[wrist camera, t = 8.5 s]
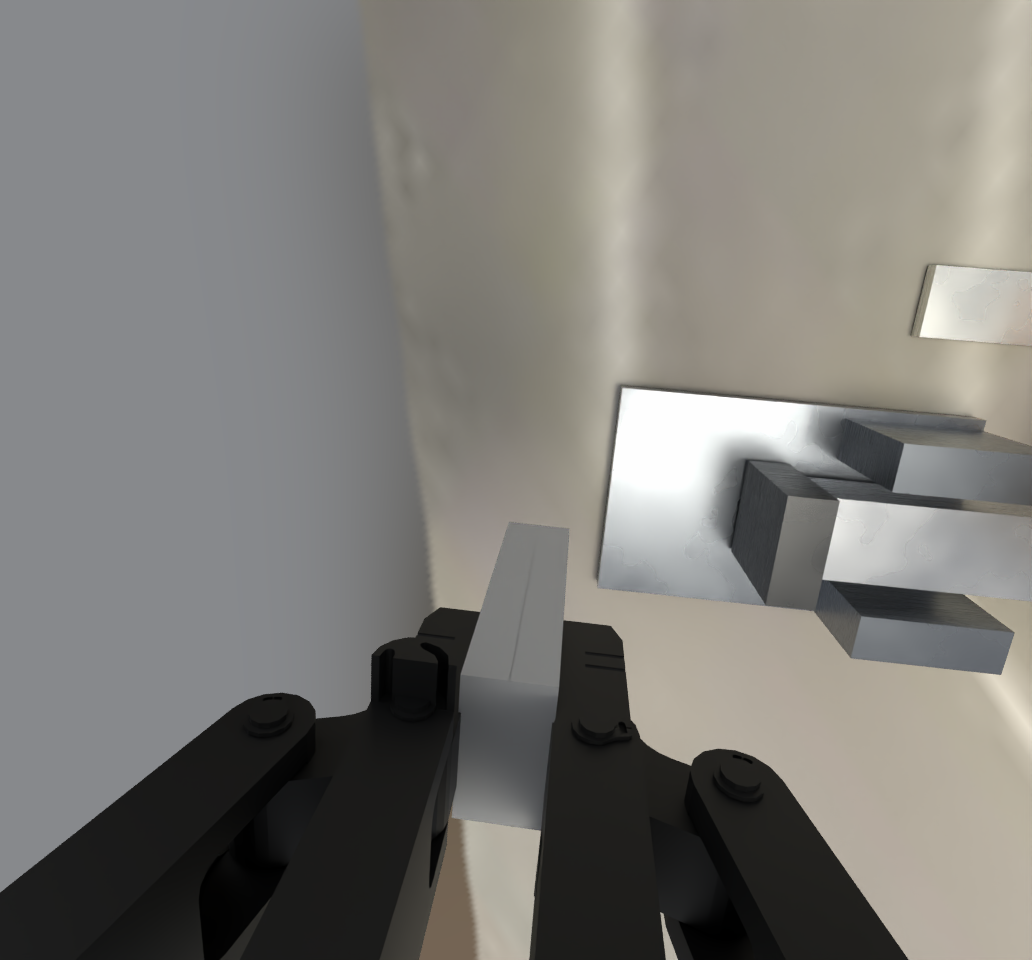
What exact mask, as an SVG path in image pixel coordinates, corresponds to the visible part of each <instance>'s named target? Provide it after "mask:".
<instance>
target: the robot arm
mask: <svg viewBox="0 0 1032 960" xmlns="http://www.w3.org/2000/svg"><path fill="white" fill-rule="evenodd" d="M568 542H569V528H560V527H550V526H541V525H532V524H523V523H514V522H509V524H508V527H507V530H506V533H505V537H504V540H503V543H502V546H501V549H500V552H499V555H498V559H497V562H496V565H495V568H494V571H493V574H492V577H491V581H490V584H489V587H488V590H487V593H486V596H485V599H484V603H483V606H482V609H481V612H475V611H467V610H458V609H450V608H442V607H440V608H439V609H437V610H436V611H435V612H433V613H432V614H430V615H429V616H428V617H426V618H425V619H424V621H423V623H422V625H421V627H420V630H419V631H418V635H417V636H416V638H409V637H408V638H403V639H398V640H393V641H391V642H389V643H387V644H384V645H382V646H380V647H379V648H378V649H377V650H376V651H375V652H374V653H373V654H372V663H371V666H372V667H371V702H370V704H369V706H368V708H367V710H365V711H362V712H360V713H356V714H352V715H346V716H340V717H329V718H318V719H316V713H315V709H314V708H313V706H312V705H311V703H310V702H309V701H307V700H306V699H304V698H302V697H300V696H298V695H293V694H286V693H274V694H264V695H261V696H257V697H254V698H251V699H248V700H246V701H244V702H243V703H241V704H239V705H237V706H236V707H234V708H232V709H231V710H230V711H229V712H228V713H226V714H225V715H224V716H222V717H221V718H220V719H219V720H218V721H216V722H215V723H214V724H212V725H211V726H210V727H209V728H207V729H206V730H205V731H203V732H202V733H201V734H200V735H199V736H197V737H196V738H195V739H193V740H192V741H191V742H190V743H189V744H187V745H186V746H185V747H183V748H182V749H181V750H179V751H178V752H177V753H176V754H175V755H173V756H172V757H171V758H169V759H168V760H167V761H166V762H164V763H163V764H162V765H161V766H159V767H158V768H157V769H156V770H154V771H153V772H152V773H151V774H149V775H148V776H147V777H145V778H144V779H143V780H142V781H141V782H139V783H138V784H137V785H135V786H134V787H133V788H132V789H130V790H129V791H128V792H126V793H125V794H124V795H123V796H121V797H120V798H119V799H118V800H116V801H115V802H114V803H113V804H111V805H110V806H109V807H108V808H106V809H105V810H104V811H103V812H102V813H100V814H99V815H98V816H96V817H95V818H94V819H92V820H91V821H90V822H89V823H87V824H86V825H85V826H84V827H82V828H81V829H80V830H79V831H77V832H76V833H75V834H73V835H72V836H71V837H70V838H68V839H67V840H66V841H65V842H63V843H62V844H61V845H60V846H59V847H57V848H56V849H55V850H53V851H52V852H51V853H49V854H48V855H47V856H46V857H45V858H43V859H42V860H41V861H39V862H38V863H37V864H36V865H34V866H33V867H32V868H31V869H29V870H28V871H27V872H26V873H24V874H23V875H22V876H20V877H19V878H18V879H17V880H16V881H14V882H13V883H12V884H10V885H9V886H8V887H7V888H5V889H4V890H3V891H2V892H0V960H419V957H420V952H421V948H422V944H423V940H424V936H425V932H426V928H427V924H428V920H429V916H430V911H431V907H432V903H433V899H434V895H435V891H436V886H437V882H438V878H439V874H440V870H441V866H442V862H443V858H444V854H445V850H446V845H447V829H448V818H449V814H450V810H451V806H452V803H453V810H452V817H453V818H458V819H465V820H471V821H478V822H485V823H492V824H499V825H506V826H513V827H520V828H527V829H534V830H541V837H540V845H539V854H538V863H537V872H536V881H535V890H534V896H535V900H534V912H533V923H532V935H531V946H530V958H529V960H666V958H665V950H664V941H663V932H662V924H661V915H660V912H661V913H664V918H665V924H666V928H667V931H668V934H669V936H670V939H671V942H672V944H673V947H674V950H675V953H676V955H677V958H678V960H908V958H907V957H906V955H905V954H904V953H903V951H902V950H901V948H900V947H899V945H898V944H897V943H896V941H895V940H894V938H893V937H892V935H891V934H890V933H889V931H888V930H887V928H886V927H885V925H884V924H883V923H882V921H881V920H880V918H879V917H878V915H877V914H876V913H875V911H874V910H873V908H872V907H871V906H870V904H869V903H868V901H867V900H866V898H865V897H864V896H863V894H862V893H861V891H860V890H859V888H858V887H857V886H856V884H855V883H854V881H853V880H852V878H851V877H850V876H849V874H848V873H847V871H846V870H845V868H844V867H843V866H842V864H841V863H840V861H839V860H838V858H837V857H836V856H835V854H834V853H833V851H832V850H831V849H830V847H829V846H828V844H827V843H826V841H825V840H824V839H823V837H822V836H821V834H820V833H819V831H818V830H817V829H816V827H815V826H814V824H813V823H812V821H811V820H810V819H809V817H808V816H807V814H806V813H805V811H804V810H803V809H802V807H801V806H800V804H799V803H798V801H797V800H796V799H795V797H794V796H793V794H792V793H791V791H790V790H789V789H788V787H787V786H786V784H785V783H784V782H783V780H782V779H781V778H780V777H779V776H778V775H777V774H776V773H775V772H774V771H773V770H772V769H771V768H770V767H769V766H767V765H766V764H764V763H763V762H761V761H759V760H758V759H756V758H755V757H753V756H750V755H747V754H744V753H741V752H738V751H735V750H726V749H714V750H709V751H704V752H702V753H701V754H700V755H698V756H697V757H696V758H694V760H693V763H692V766H690V765H687V764H685V763H682V762H679V761H676V760H674V759H671V758H669V757H667V756H665V755H662V754H660V753H658V752H657V751H655V750H654V749H652V748H651V747H649V746H648V745H646V744H645V743H644V742H643V741H642V740H641V739H640V735H639V733H638V730H637V728H636V725H635V724H634V723H633V722H632V721H631V719H630V710H629V700H628V690H627V680H626V672H625V661H624V651H623V642H622V640H621V638H620V637H619V636H618V634H617V633H616V632H615V631H614V629H613V628H612V627H611V626H607V625H598V624H590V623H582V622H573V621H565V620H563V619H564V604H565V588H566V573H567V558H568Z"/></svg>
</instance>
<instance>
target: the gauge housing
mask: <svg viewBox="0 0 1032 960" xmlns="http://www.w3.org/2000/svg"><path fill="white" fill-rule="evenodd" d="M911 336H917V337H928V338H940V339H952V340H964V341H976V342H988V343H1000V344H1012V345H1024V346H1032V272H1020V271H1007V270H994V269H981V268H968V267H955V266H943V265H932V266H928V268H927V272H926V276H925V280H924V284H923V288H922V293H921V297H920V301H919V305H918V309H917V313H916V318H915V322H914V326H913V330H912V334H911ZM985 423H986V420H982V419H979V418H975V417H969V416H958V415H946V414H935V413H924V412H913V411H902V410H891V409H879V408H868V407H857V406H846V405H835V404H824V403H812V402H801V401H790V400H779V399H768V398H757V397H745V396H734V395H723V394H712V393H701V392H689V391H678V390H667V389H656V388H645V387H634V386H622V385H621V389H620V397H619V405H618V413H617V421H616V429H615V438H614V446H613V454H612V462H611V470H610V478H609V486H608V494H607V502H606V510H605V518H604V526H603V535H602V543H601V551H600V559H599V567H598V575H597V586H598V588H603V589H612V590H622V591H631V592H640V593H650V594H659V595H668V596H678V597H687V598H696V599H706V600H715V601H724V602H734V603H743V604H752V605H762V606H766V605H765V603H764V602H763V600H762V599H761V597H760V596H759V594H758V593H757V591H756V589H755V588H754V586H753V585H752V583H751V582H750V580H749V579H748V577H747V575H746V574H745V572H744V571H743V569H742V568H741V566H740V565H739V563H738V561H737V560H736V558H735V557H734V555H733V554H732V552H731V549H732V543H733V538H734V532H735V527H736V521H737V516H738V511H739V505H740V500H741V494H742V489H743V483H744V478H745V472H746V467H747V461H748V460H753V461H764V462H774V463H785V464H791V465H792V466H793V467H795V468H796V469H797V470H799V471H800V472H801V473H803V474H804V475H805V476H807V477H812V478H823V479H833V480H844V481H854V482H865V483H875V484H879V485H881V486H883V487H884V488H886V489H888V490H889V491H891V492H894V493H905V494H915V495H925V496H936V497H946V498H957V499H967V500H977V501H988V502H998V503H1008V504H1019V505H1029V506H1032V446H1029V445H1025V444H1022V443H1019V442H1016V441H1013V440H1010V439H1006V438H1003V437H1000V436H997V435H994V434H991V433H988V432H984V431H983V430H984V427H985ZM771 607H776V606H771ZM781 608H785V607H781ZM790 609H794V608H790ZM799 610H804V609H799ZM809 611H813V610H809ZM814 612H815V613H816V614H817V616H818V617H819V618H820V620H821V621H822V622H823V623H824V625H825V626H826V627H827V628H828V630H829V631H830V632H831V634H832V635H833V636H834V637H835V639H836V640H837V641H838V642H839V644H840V645H841V646H842V648H843V649H844V650H845V651H846V653H847V654H848V655H849V656H850V658H854V659H863V660H872V661H881V662H890V663H899V664H908V665H917V666H926V667H935V668H944V669H953V670H962V671H971V672H980V673H989V674H998V675H1001V673H1002V670H1003V667H1004V664H1005V661H1006V658H1007V655H1008V651H1009V648H1010V645H1011V642H1012V639H1013V636H1014V632H1013V631H1011V630H1010V629H1009V628H1007V627H1006V626H1005V625H1003V624H1002V623H1001V622H999V621H998V620H997V619H995V618H994V617H993V616H991V615H990V614H989V613H987V612H986V611H985V610H983V609H982V608H981V607H979V606H978V605H977V604H975V603H974V602H973V601H971V600H970V599H969V598H967V597H966V596H965V595H963V594H956V593H946V592H937V591H927V590H918V589H908V588H898V587H889V586H879V585H870V584H860V583H850V582H841V581H831V580H822V582H821V587H820V591H819V596H818V600H817V604H816V609H815V611H814Z"/></svg>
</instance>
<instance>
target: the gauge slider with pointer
mask: <svg viewBox="0 0 1032 960" xmlns="http://www.w3.org/2000/svg"><path fill="white" fill-rule="evenodd" d="M731 552H732V554H733V555H734V557H735V558H736V560H737V561H738V563H739V565H740V566H741V568H742V569H743V571H744V572H745V574H746V575H747V577H748V579H749V580H750V582H751V583H752V585H753V586H754V588H755V589H756V591H757V593H758V594H759V596H760V597H761V599H762V600H763V602H764V603H765V605H766V606H776V607H785V608H794V609H804V610H813V611H815V609H816V604H817V600H818V596H819V591H820V587H821V582H822V580H831V581H841V582H850V583H860V584H870V585H879V586H889V587H898V588H908V589H918V590H927V591H937V592H946V593H956V594H966V595H975V596H985V597H994V598H1004V599H1013V600H1023V601H1032V506H1029V505H1019V504H1008V503H998V502H988V501H977V500H967V499H957V498H946V497H936V496H925V495H915V494H905V493H894V492H891V491H889V490H888V489H886V488H884V487H883V486H881V485H879V484H875V483H865V482H854V481H844V480H833V479H823V478H812V477H807V476H805V475H804V474H803V473H801V472H800V471H799V470H797V469H796V468H795V467H793V466H792V465H791V464H785V463H774V462H764V461H753V460H748V461H747V467H746V472H745V478H744V483H743V489H742V494H741V500H740V505H739V511H738V516H737V521H736V527H735V532H734V538H733V543H732V549H731Z"/></svg>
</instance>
